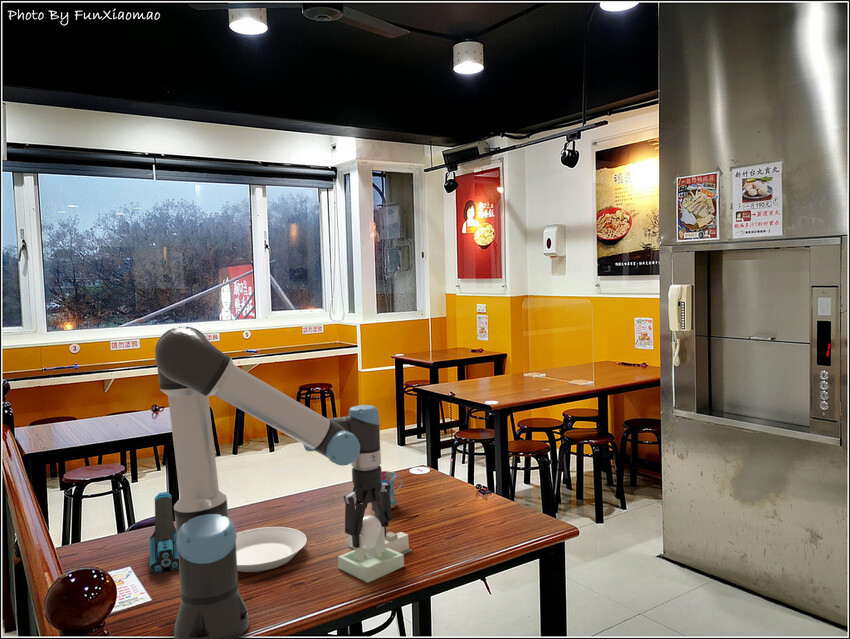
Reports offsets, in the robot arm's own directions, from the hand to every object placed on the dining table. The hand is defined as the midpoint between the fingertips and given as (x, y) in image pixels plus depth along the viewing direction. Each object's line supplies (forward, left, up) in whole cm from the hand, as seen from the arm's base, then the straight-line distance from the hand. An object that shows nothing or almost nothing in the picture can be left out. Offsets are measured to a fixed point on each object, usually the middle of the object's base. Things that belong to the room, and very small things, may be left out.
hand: (370, 554), depth 162 cm
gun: (-33, +50, -4) cm, 60 cm away
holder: (+9, +8, -3) cm, 13 cm away
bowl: (-16, +28, -4) cm, 32 cm away
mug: (+32, +31, -4) cm, 45 cm away
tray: (0, 0, -3) cm, 3 cm away
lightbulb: (0, 0, -1) cm, 1 cm away
